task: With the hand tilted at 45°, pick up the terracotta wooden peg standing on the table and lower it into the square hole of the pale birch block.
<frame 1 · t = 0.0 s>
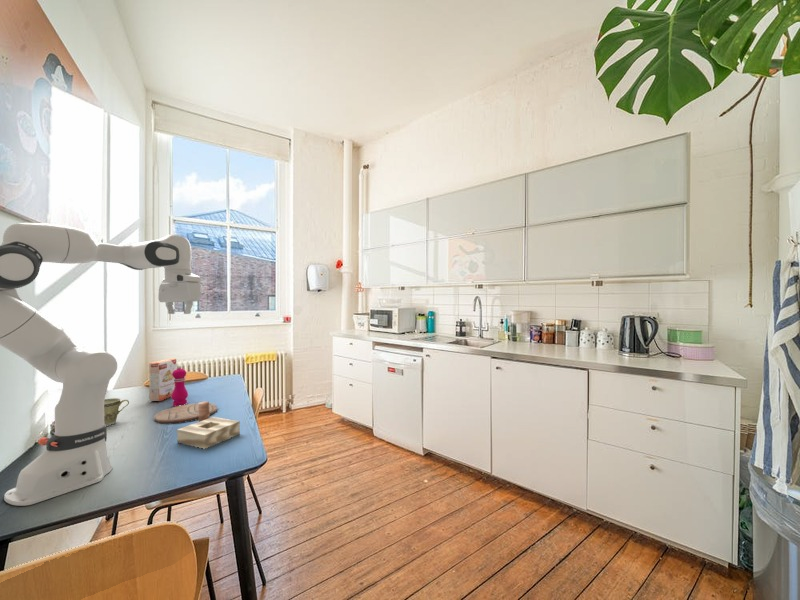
hand: (179, 313, 133), 48 cm above the table, tool pointing down, fingers open, 8 cm apart
pepper mill: (180, 404, 178), on the table
ceramic cup: (110, 423, 152), on the table
socket block: (209, 438, 133), on the table
cracker box: (163, 398, 190), on the table
trivet: (187, 415, 162), on the table
peg: (204, 426, 146), on the table
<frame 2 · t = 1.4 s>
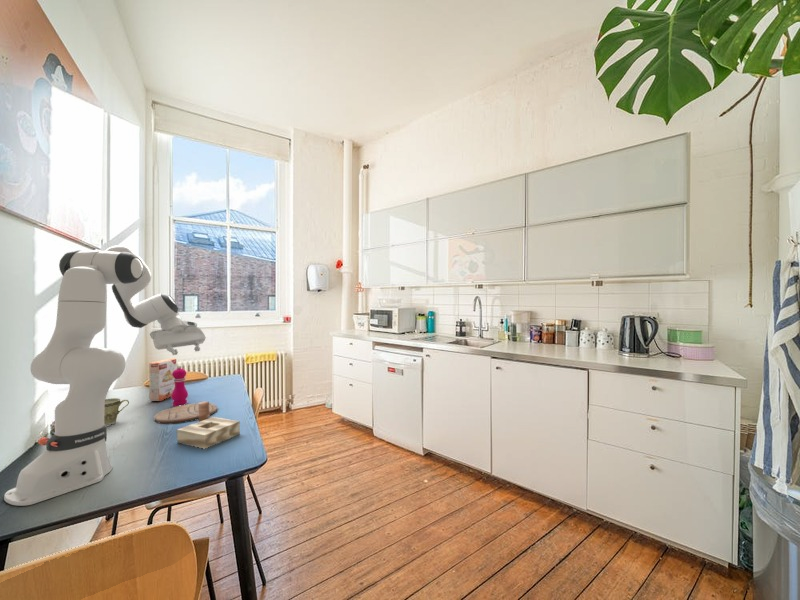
hand: (187, 352, 151), 31 cm above the table, tool tilted 45°, fingers open, 8 cm apart
nothing on the table moved.
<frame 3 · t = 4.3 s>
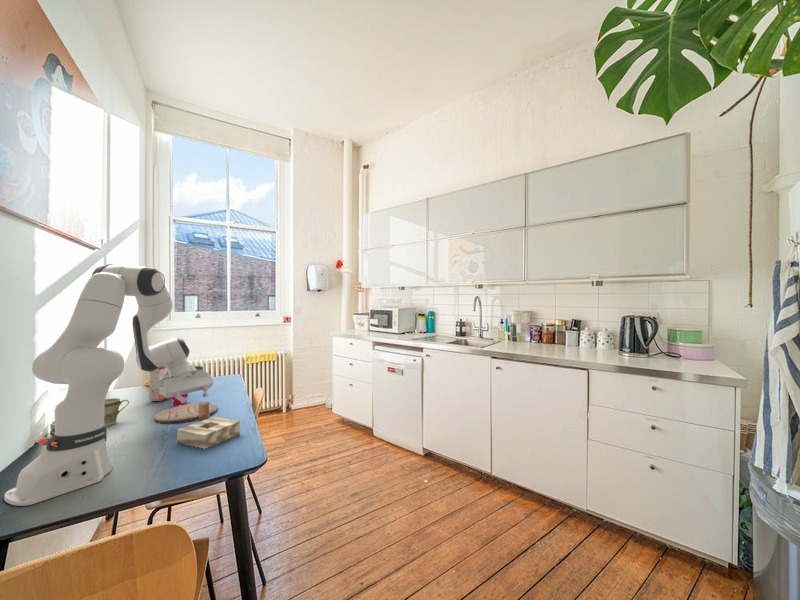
hand: (195, 399, 148), 11 cm above the table, tool tilted 45°, fingers open, 8 cm apart
nothing on the table moved.
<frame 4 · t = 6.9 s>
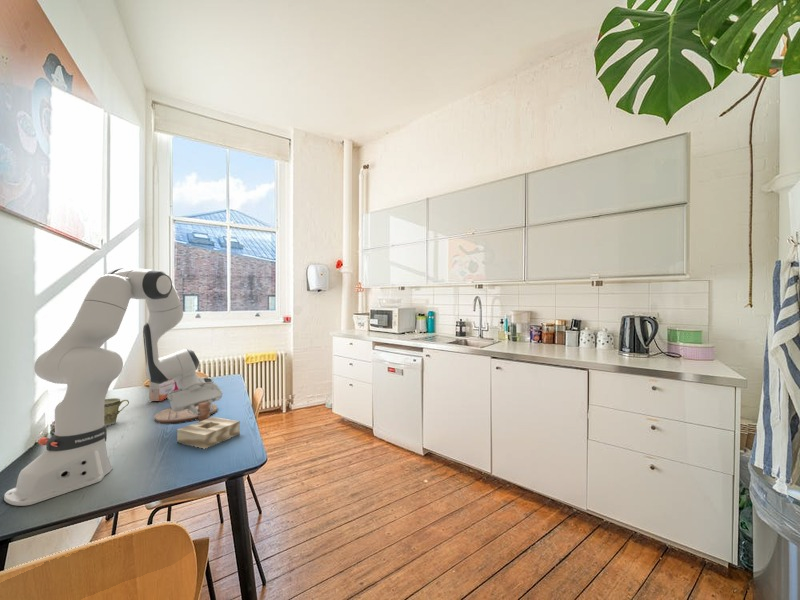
hand: (204, 412, 145), 6 cm above the table, tool tilted 45°, fingers closed on peg, 4 cm apart
peg: (204, 426, 146), on the table, touching gripper
everything else where it was.
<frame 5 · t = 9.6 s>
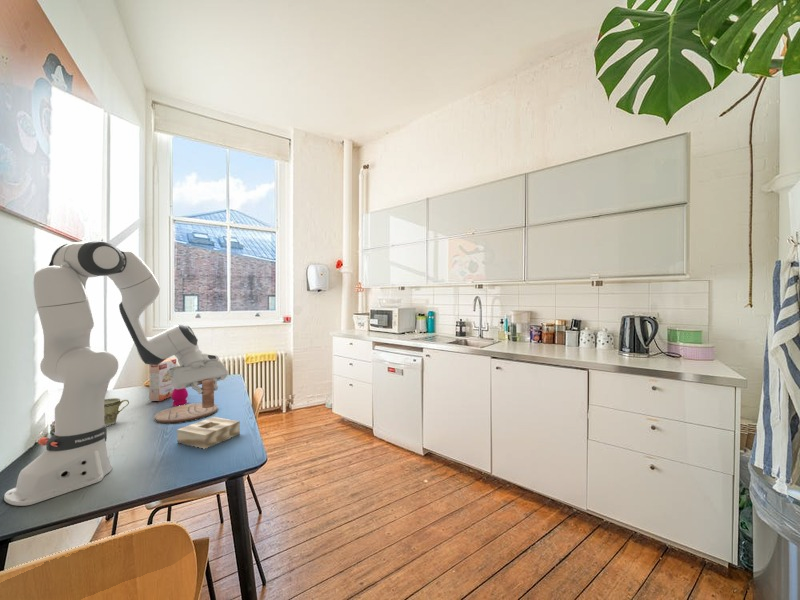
hand: (209, 391, 132), 18 cm above the table, tool tilted 45°, fingers closed on peg, 4 cm apart
peg: (208, 406, 133), point 12 cm above the table, touching gripper
everything else where it was.
when the fingers open (9 cm above the table, at t = 12.6 s): peg drops 3 cm, resting in socket block.
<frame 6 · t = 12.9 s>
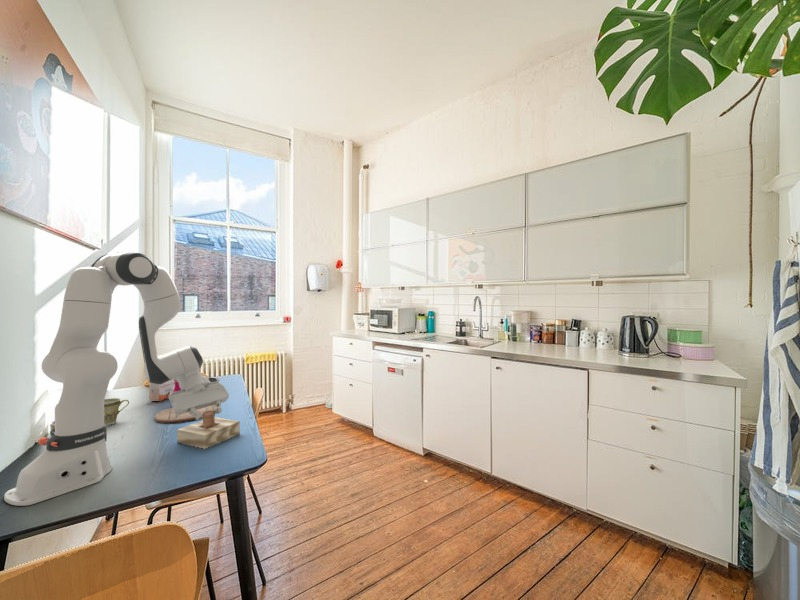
hand: (209, 415, 132), 9 cm above the table, tool tilted 45°, fingers open, 6 cm apart
peg: (209, 438, 132), resting in socket block
everything else where it was.
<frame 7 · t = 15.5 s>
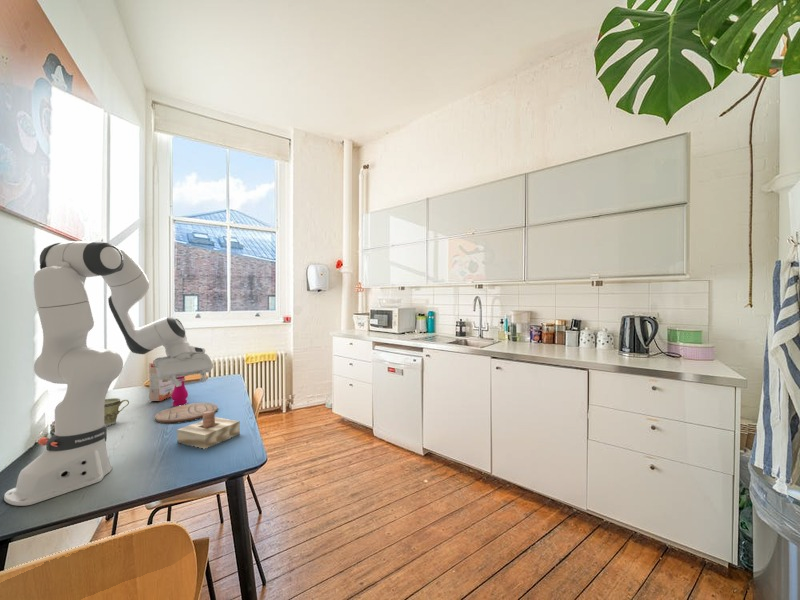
hand: (191, 383, 137), 20 cm above the table, tool tilted 40°, fingers open, 8 cm apart
nothing on the table moved.
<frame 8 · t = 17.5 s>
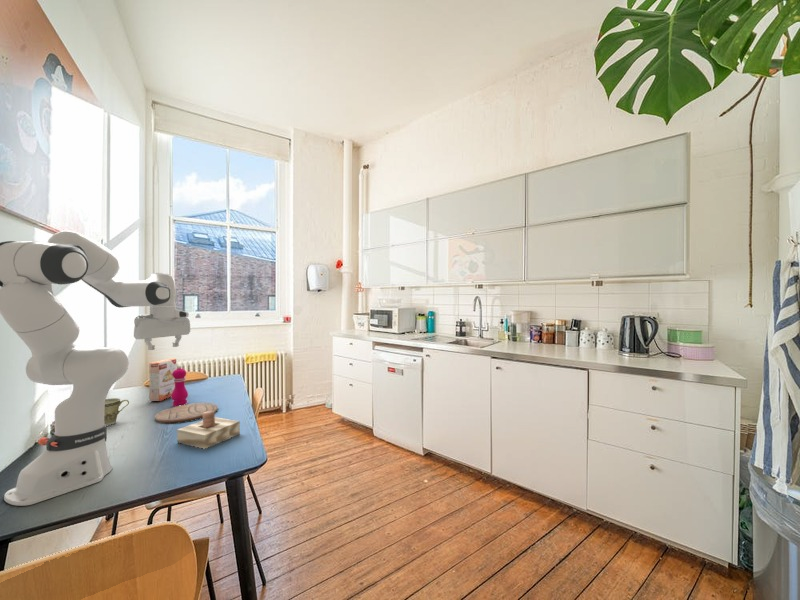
hand: (163, 348, 139), 34 cm above the table, tool pointing down, fingers open, 8 cm apart
nothing on the table moved.
at the end: peg 0.1 cm off-centre on the socket block, point 0.0 cm above the socket block's base; peg tilted 0°; the gripper is holding nothing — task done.
